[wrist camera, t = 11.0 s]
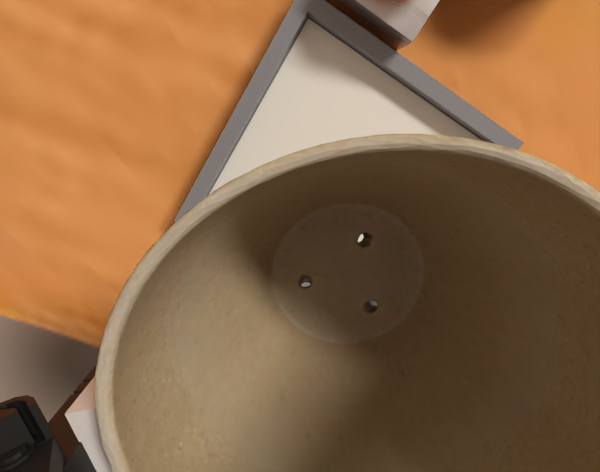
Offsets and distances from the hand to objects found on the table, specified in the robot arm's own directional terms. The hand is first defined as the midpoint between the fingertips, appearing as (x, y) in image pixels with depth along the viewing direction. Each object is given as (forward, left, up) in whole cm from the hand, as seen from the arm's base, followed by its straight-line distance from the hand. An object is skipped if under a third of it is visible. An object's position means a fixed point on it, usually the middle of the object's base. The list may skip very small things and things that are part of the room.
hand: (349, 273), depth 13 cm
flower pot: (0, 0, 0) cm, 0 cm away
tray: (+1, +1, -17) cm, 17 cm away
